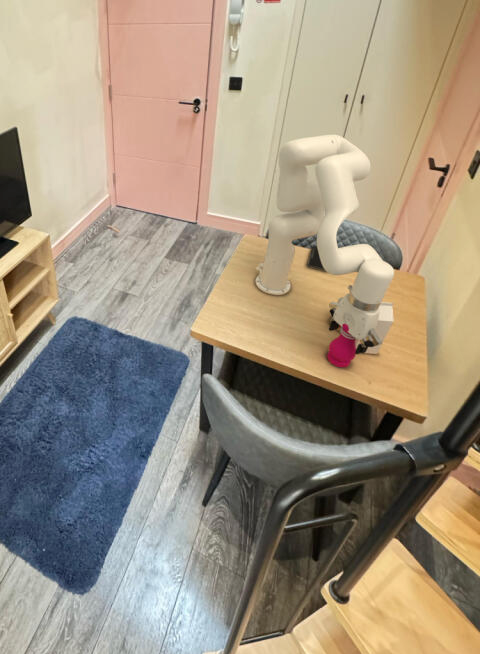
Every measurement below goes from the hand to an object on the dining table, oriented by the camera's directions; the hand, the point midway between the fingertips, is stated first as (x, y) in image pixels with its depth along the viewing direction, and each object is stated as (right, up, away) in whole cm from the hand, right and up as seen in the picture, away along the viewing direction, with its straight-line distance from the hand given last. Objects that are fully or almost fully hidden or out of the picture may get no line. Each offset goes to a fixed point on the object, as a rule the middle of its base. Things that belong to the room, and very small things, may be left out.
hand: (346, 340), depth 121 cm
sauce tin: (+8, +1, +16) cm, 18 cm away
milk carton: (+10, -4, +9) cm, 14 cm away
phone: (+17, +22, +46) cm, 54 cm away
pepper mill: (+1, -7, +5) cm, 9 cm away
